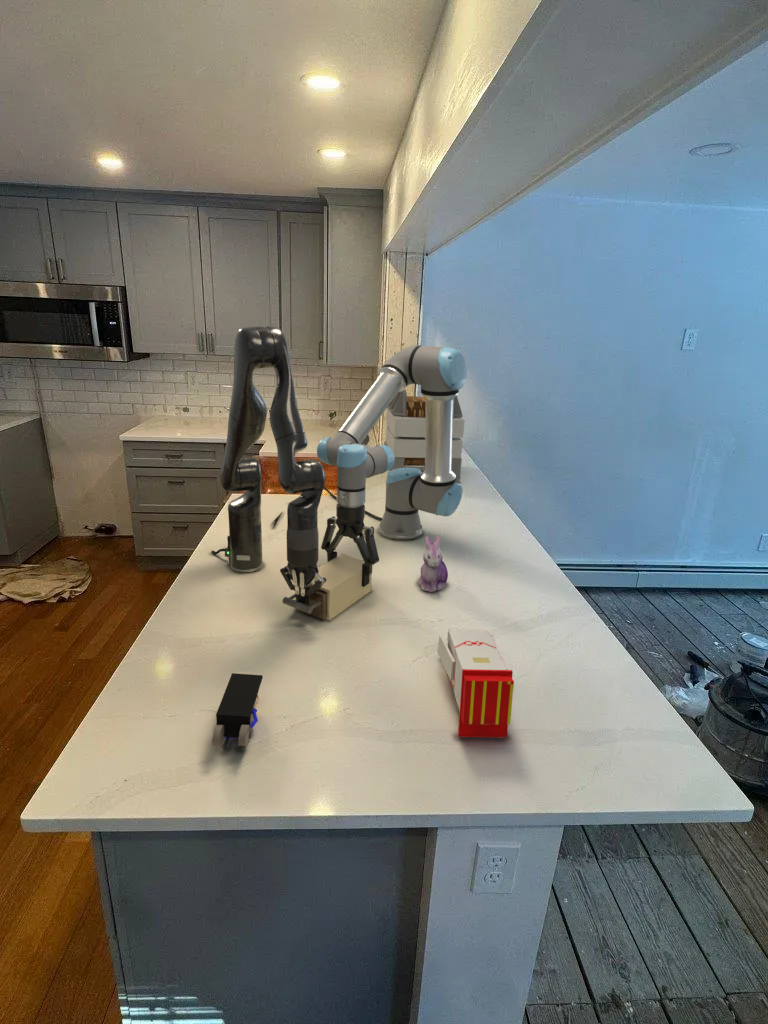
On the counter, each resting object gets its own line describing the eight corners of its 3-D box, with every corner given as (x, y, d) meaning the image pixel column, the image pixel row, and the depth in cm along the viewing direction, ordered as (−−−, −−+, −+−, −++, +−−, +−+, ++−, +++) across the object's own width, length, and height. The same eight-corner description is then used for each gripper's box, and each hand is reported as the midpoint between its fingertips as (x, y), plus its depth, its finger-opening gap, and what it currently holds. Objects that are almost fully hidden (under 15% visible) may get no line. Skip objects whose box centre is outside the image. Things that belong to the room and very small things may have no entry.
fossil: (345, 440, 316) (366, 424, 311) (356, 453, 319) (377, 438, 314) (339, 453, 297) (361, 437, 292) (350, 467, 300) (373, 452, 295)
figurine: (428, 595, 157) (432, 546, 152) (409, 580, 166) (413, 532, 161) (456, 589, 161) (461, 541, 156) (437, 574, 170) (441, 528, 165)
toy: (488, 613, 130) (523, 677, 101) (484, 667, 133) (517, 744, 104) (435, 612, 130) (455, 676, 101) (432, 666, 133) (451, 743, 103)
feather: (289, 506, 225) (292, 502, 225) (272, 529, 199) (275, 525, 198) (286, 503, 225) (288, 500, 225) (268, 527, 199) (271, 522, 198)
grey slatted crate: (382, 463, 289) (386, 382, 275) (445, 464, 293) (451, 384, 279) (390, 482, 257) (394, 392, 243) (460, 483, 261) (468, 394, 247)
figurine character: (250, 764, 99) (265, 700, 113) (248, 732, 96) (263, 671, 109) (212, 763, 99) (231, 699, 112) (208, 732, 96) (228, 670, 109)
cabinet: (329, 620, 143) (329, 590, 140) (297, 608, 148) (297, 579, 145) (371, 590, 159) (372, 563, 156) (341, 581, 164) (341, 553, 161)
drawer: (309, 628, 137) (309, 604, 135) (281, 617, 142) (280, 593, 139) (363, 591, 157) (364, 569, 154) (337, 582, 161) (337, 560, 159)
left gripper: (270, 541, 135) (272, 605, 141) (315, 554, 129) (314, 621, 135) (291, 531, 141) (292, 593, 147) (334, 544, 135) (333, 608, 141)
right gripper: (307, 498, 152) (308, 573, 159) (379, 516, 141) (376, 596, 149) (324, 491, 158) (324, 564, 166) (395, 509, 147) (391, 585, 155)
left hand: (303, 607), depth 141 cm, fingers closed
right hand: (348, 579), depth 157 cm, fingers closed on cabinet, 10 cm apart
